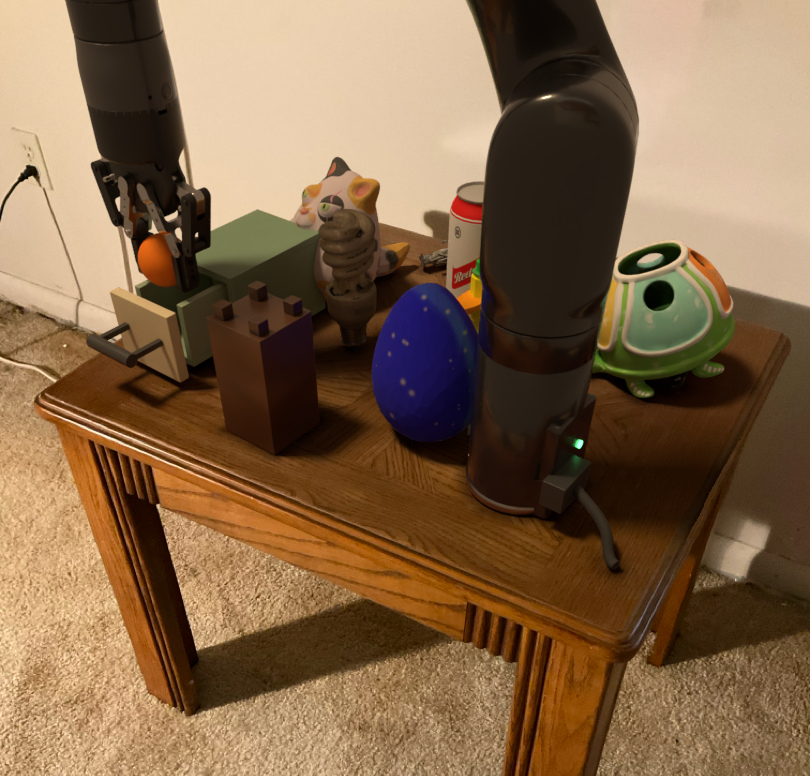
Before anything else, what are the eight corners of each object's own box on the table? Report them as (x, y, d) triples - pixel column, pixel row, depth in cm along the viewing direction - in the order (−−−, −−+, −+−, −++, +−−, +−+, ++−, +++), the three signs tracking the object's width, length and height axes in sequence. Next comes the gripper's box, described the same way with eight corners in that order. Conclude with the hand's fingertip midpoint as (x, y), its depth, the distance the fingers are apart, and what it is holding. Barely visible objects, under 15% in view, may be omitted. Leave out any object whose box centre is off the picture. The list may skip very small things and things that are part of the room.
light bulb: (354, 368, 86) (349, 229, 76) (315, 350, 89) (305, 213, 78) (387, 345, 90) (386, 209, 79) (349, 329, 92) (343, 195, 81)
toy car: (678, 394, 83) (683, 377, 82) (645, 385, 84) (649, 367, 83) (698, 357, 88) (703, 340, 87) (667, 348, 89) (671, 331, 88)
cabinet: (242, 358, 88) (230, 279, 81) (181, 329, 92) (165, 251, 85) (326, 308, 95) (321, 231, 89) (266, 283, 99) (257, 209, 93)
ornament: (499, 437, 78) (516, 293, 68) (428, 478, 74) (434, 330, 63) (422, 387, 84) (426, 247, 73) (352, 422, 80) (345, 278, 69)
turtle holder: (557, 361, 93) (528, 268, 85) (723, 310, 88) (707, 206, 80) (568, 426, 84) (536, 329, 77) (753, 374, 79) (738, 264, 71)
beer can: (501, 352, 89) (517, 205, 78) (443, 351, 89) (451, 204, 78) (498, 322, 93) (512, 179, 82) (443, 321, 93) (449, 178, 82)
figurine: (250, 268, 96) (288, 137, 89) (359, 287, 108) (401, 173, 101) (304, 314, 90) (350, 177, 83) (414, 329, 102) (462, 210, 95)
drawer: (144, 404, 80) (126, 338, 75) (89, 374, 84) (69, 310, 78) (266, 331, 90) (259, 269, 85) (213, 308, 93) (202, 246, 88)
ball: (205, 282, 82) (197, 233, 78) (167, 301, 79) (156, 251, 75) (171, 267, 84) (162, 219, 80) (133, 286, 81) (121, 237, 78)
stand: (320, 422, 80) (310, 298, 70) (274, 455, 76) (257, 329, 67) (272, 399, 82) (256, 276, 73) (226, 429, 79) (203, 304, 69)
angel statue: (473, 246, 106) (481, 275, 105) (413, 252, 104) (420, 282, 103) (480, 227, 102) (488, 256, 101) (418, 233, 101) (425, 264, 100)
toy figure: (462, 391, 84) (470, 282, 75) (435, 378, 85) (440, 269, 77) (502, 365, 87) (514, 258, 79) (476, 352, 89) (485, 246, 80)
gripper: (41, 87, 70) (92, 273, 82) (153, 123, 64) (191, 318, 76) (111, 67, 74) (150, 246, 86) (223, 99, 68) (248, 287, 80)
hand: (169, 279), depth 81 cm, fingers closed on ball, 5 cm apart
